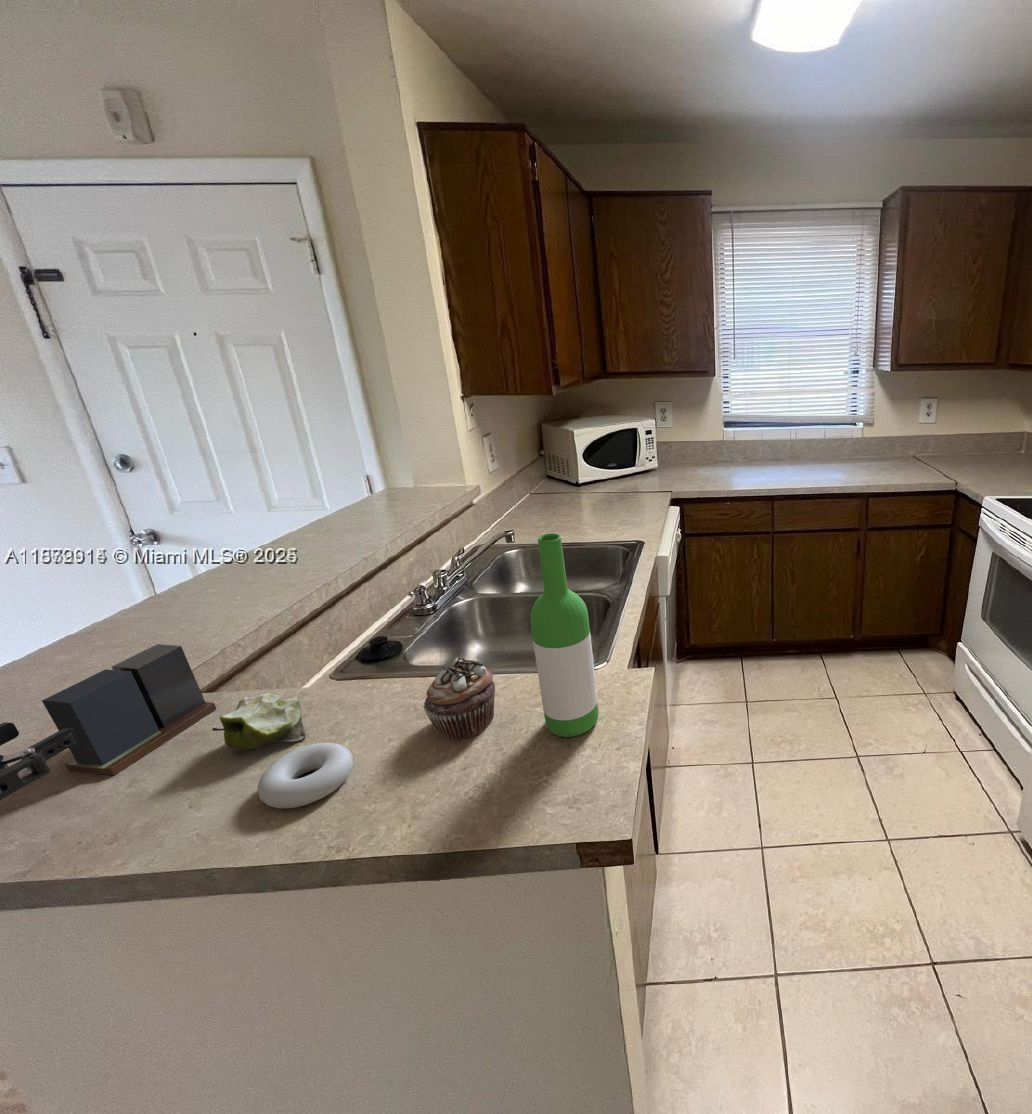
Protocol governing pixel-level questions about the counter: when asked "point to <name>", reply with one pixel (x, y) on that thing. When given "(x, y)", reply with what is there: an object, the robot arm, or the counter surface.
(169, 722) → the grey block on board
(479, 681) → the cupcake
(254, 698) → the fruit
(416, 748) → the counter surface
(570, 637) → the wine bottle
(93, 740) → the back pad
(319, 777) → the donut
